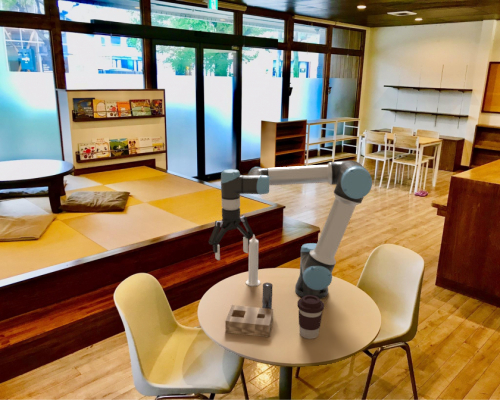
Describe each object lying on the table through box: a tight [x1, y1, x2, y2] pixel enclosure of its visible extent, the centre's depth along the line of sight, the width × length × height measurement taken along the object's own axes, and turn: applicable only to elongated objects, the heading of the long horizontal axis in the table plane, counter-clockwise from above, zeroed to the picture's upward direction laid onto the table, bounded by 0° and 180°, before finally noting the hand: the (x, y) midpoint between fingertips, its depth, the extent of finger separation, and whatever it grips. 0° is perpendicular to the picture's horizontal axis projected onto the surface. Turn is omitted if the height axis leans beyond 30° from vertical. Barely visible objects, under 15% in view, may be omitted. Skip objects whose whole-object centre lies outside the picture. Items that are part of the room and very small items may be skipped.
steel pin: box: [261, 282, 273, 309], centre depth 175 cm, size 4×4×13 cm
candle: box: [245, 234, 261, 287], centre depth 199 cm, size 7×7×25 cm
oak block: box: [224, 304, 274, 338], centre depth 167 cm, size 17×12×5 cm
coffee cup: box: [297, 295, 325, 340], centre depth 161 cm, size 10×10×15 cm
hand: (231, 255), depth 178 cm, fingers open, 13 cm apart
